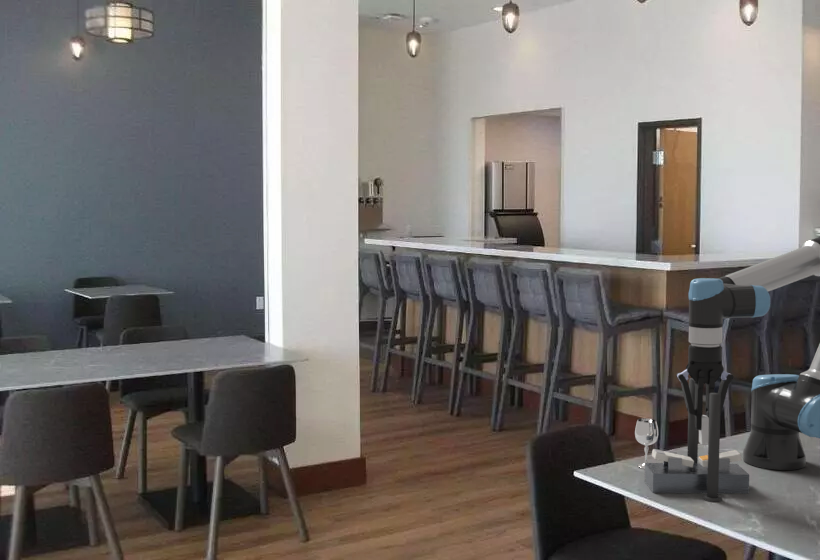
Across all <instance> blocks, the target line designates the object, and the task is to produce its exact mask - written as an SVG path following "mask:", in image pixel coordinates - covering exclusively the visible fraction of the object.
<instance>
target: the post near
mask: <svg viewBox="0 0 820 560" xmlns="http://www.w3.org/2000/svg"><path fill="white" fill-rule="evenodd" d="M720 404H721V394H720V393H718V392H714V393H710V394H709V435H708V445H707V455H708V479H707V493H704V494H703V496H702V498H703V501H707V502H711V503H719V502H722V500H723V497H722V496H721V494H719V493H718V486H719V452H720V444H721V443H720V435H721V414H720Z"/></svg>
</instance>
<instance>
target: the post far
mask: <svg viewBox="0 0 820 560" xmlns="http://www.w3.org/2000/svg"><path fill="white" fill-rule="evenodd" d="M688 385H689V389H690V393H691V397H692V402H693V406H694V409H695V382H694V381H693V379H692V378H691V377H690V378H688ZM687 415H688V416H687V420H688V421H687V455H686V456H688V457H691V458H692V460H693V461H694V463H699V459H698V457H699V455H698V453H699V451H698V449H699V430H697V429H696V428H695V415H693V414H690V413H689V412H688V411H687Z"/></svg>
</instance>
